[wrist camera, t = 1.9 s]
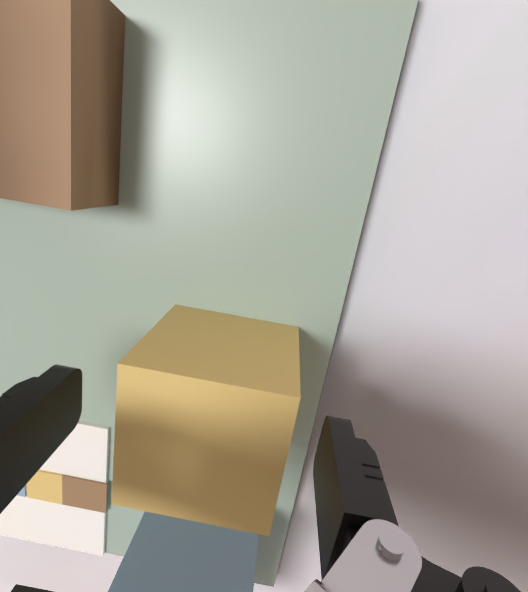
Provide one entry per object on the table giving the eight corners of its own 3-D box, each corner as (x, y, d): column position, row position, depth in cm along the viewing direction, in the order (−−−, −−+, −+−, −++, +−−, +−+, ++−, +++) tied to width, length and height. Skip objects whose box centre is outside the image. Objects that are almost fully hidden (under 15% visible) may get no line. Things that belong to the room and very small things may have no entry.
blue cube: (262, 500, 17) (249, 621, 12) (246, 574, 19) (230, 708, 14) (159, 479, 17) (107, 592, 13) (152, 554, 19) (103, 681, 14)
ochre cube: (298, 326, 14) (300, 398, 10) (276, 430, 16) (269, 536, 11) (175, 304, 15) (117, 363, 10) (165, 409, 16) (111, 504, 11)
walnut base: (125, 15, 12) (70, -39, 9) (118, 204, 14) (70, 210, 11) (-54, -14, 12) (-165, -77, 9) (-37, 177, 14) (-124, 176, 11)
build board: (413, -3, 12) (425, -21, 11) (274, 571, 20) (273, 592, 19) (-125, -88, 12) (-165, -114, 11) (-46, 505, 20) (-65, 523, 19)
